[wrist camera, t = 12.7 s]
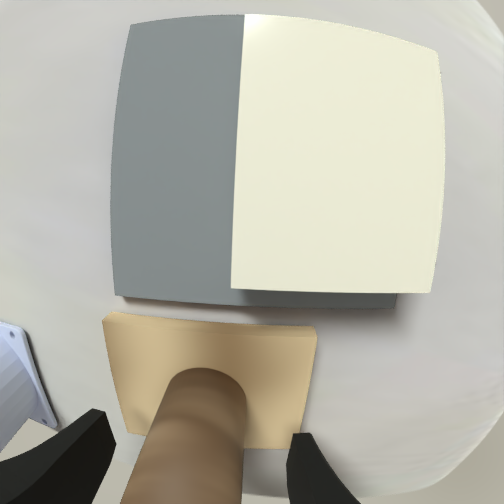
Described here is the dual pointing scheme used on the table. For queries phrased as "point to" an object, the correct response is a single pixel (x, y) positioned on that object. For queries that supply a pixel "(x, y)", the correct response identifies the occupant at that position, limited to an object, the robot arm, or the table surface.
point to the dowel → (193, 443)
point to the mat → (186, 169)
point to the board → (214, 357)
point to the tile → (336, 160)
